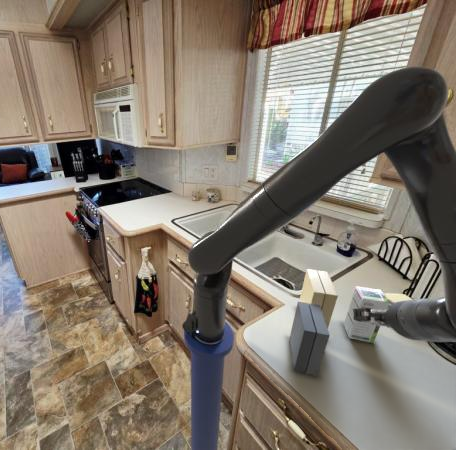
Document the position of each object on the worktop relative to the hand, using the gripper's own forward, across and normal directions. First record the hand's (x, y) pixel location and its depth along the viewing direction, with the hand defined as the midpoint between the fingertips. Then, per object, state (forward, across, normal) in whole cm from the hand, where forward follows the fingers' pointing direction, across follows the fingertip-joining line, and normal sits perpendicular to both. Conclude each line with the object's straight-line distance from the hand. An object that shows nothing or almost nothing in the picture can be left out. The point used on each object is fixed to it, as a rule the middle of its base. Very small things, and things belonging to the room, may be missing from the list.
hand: (378, 320), depth 62 cm
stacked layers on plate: (+21, -13, -5) cm, 26 cm away
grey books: (+4, +16, +12) cm, 21 cm away
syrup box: (+13, 0, +4) cm, 13 cm away
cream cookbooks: (+13, +12, +3) cm, 18 cm away
